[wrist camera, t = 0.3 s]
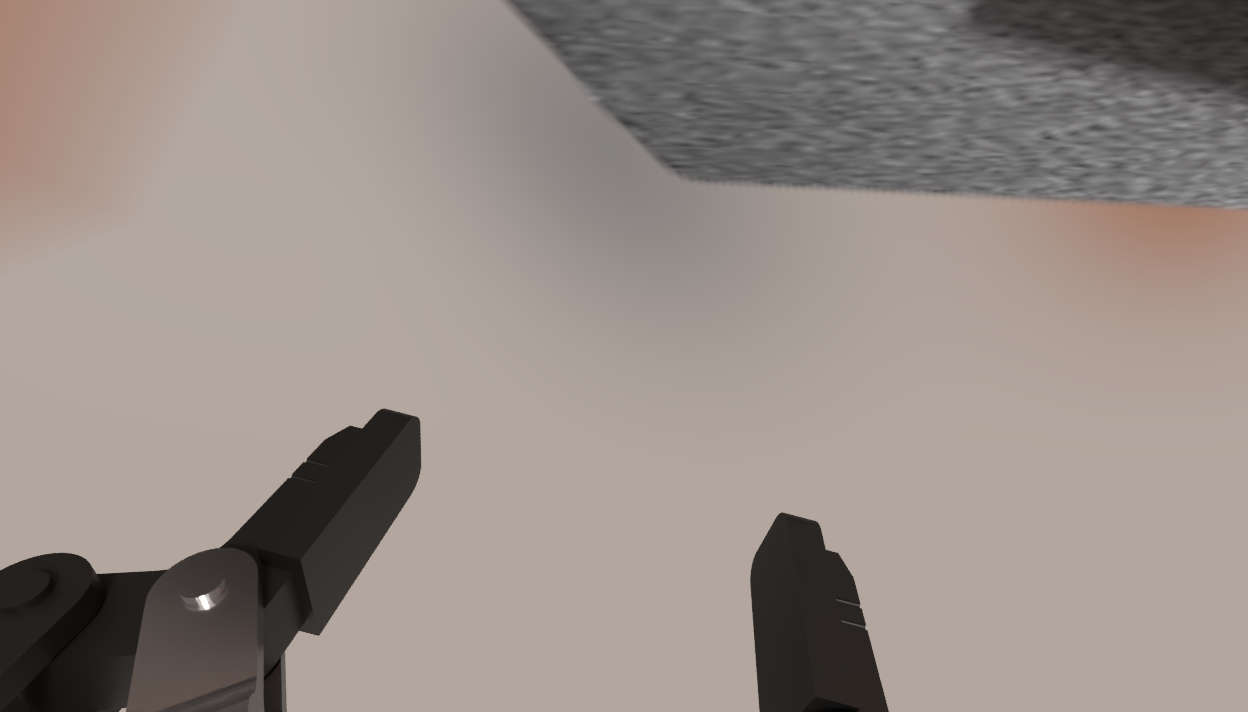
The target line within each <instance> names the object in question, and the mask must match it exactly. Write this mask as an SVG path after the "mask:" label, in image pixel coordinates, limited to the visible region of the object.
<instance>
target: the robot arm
mask: <svg viewBox="0 0 1248 712" xmlns="http://www.w3.org/2000/svg"><path fill="white" fill-rule="evenodd" d="M420 439H421V438H420V420H419V418H418V417H415V416H411V415H407V414H403V413H400V412H395V411H392V410H388V409H381V410H379V411H378V412H377V413H376V414H375V415H374V416H373V417H372V419H370V421H369V422H368V423H367V424H366V425H365V426H364V427H363V428H362V429H361V428H357V427H353V426H349V427H347V428H345V429H343V430H342V431H340V432H338V433H336V434H334V435H333V436H331V437H329V438H327V439H326V440H324V441H323V442H322V443H321V444H320V445H319V447H318V448H317V449H316V450H315V451H314V452H313V453H312V454H311V455H310V456H309V457H308V458H307V461H306V462H303V463H302V464H301V465H300V467H299V468H298V469H297V470H296V471H295V472H294V473H293V474H292V477H291V478H288V479H287V480H286V481H285V482H284V483H283V485H281V486H280V488H278V489H277V491H276V492H275V493H274V494H273V495H272V496H271V497H270V498H269V499H268V500H267V501H266V502H265V503H264V504H263V505H262V507H260V509H258V510H257V512H256V513H255V514H254V515H253V516H252V517H251V518H250V519H249V520H248V521H247V522H246V523H245V524H244V525H243V526H242V527H241V528H240V530H238V532H236V534H235V535H234V536H233V537H232V538H231V539H230V540H229V541H228V542H226V543H225V544H224V545H223V546H221V547H220V548H216V549H210V550H206V551H203V552H199V553H197V554H194V555H192V556H189V557H187V558H185V559H184V560H182V561H180V562H178V563H177V564H175V565H174V566H172V567H171V568H170V569H168V570H160V571H146V572H127V573H109V574H96V573H95V571H94V569H93V568H92V566H91V565H90V563H89V562H88V561H87V560H86V559H85V558H83V557H81V556H78V555H75V554H70V553H52V554H45V555H40V556H36V557H33V558H29V559H26V560H23V561H20V562H18V563H15V564H13V565H10V566H8V567H6V568H4V569H2V570H0V712H119V711H120V710H121V708H126V712H287V708H286V674H285V672H286V671H285V650H286V648H287V647H288V646H289V644H290V643H291V641H292V640H293V638H294V637H295V635H296V634H297V632H298V631H303V632H306V633H310V634H314V635H318V636H319V635H320V633H321V632H322V630H323V629H324V627H325V626H326V624H327V623H328V621H329V620H330V618H331V616H332V615H333V614H334V612H335V610H336V609H337V607H338V606H339V604H340V602H341V601H342V600H343V598H344V597H345V595H346V594H347V592H348V590H349V589H350V587H351V586H352V584H353V583H354V581H355V580H356V578H357V577H358V575H359V574H360V572H361V571H362V569H363V568H364V566H365V564H366V563H367V561H368V560H369V558H370V557H371V555H372V554H373V552H374V551H375V549H376V548H377V546H378V545H379V543H380V541H381V540H382V538H383V537H384V535H385V534H386V532H387V531H388V529H389V528H390V526H391V525H392V523H393V522H394V520H395V519H396V517H397V515H398V514H399V512H400V511H401V509H402V508H403V506H404V505H405V503H406V502H407V500H408V499H409V497H410V496H411V494H412V492H413V490H414V488H415V486H416V484H417V481H418V478H419V475H420V470H421V441H420ZM750 579H751V580H750V581H751V598H752V612H753V626H754V639H755V653H756V667H757V681H758V694H759V709H760V712H889V711H888V707H887V703H886V700H885V696H884V692H883V688H882V684H881V681H880V677H879V673H878V669H877V665H876V661H875V658H874V654H873V650H872V646H871V642H870V639H869V635H868V631H867V630H865V625H866V623H865V620H864V616H863V612H862V609H861V608H860V601H859V597H858V593H857V589H856V585H855V582H854V578H853V576H852V575H851V573H850V571H849V570H848V568H847V567H846V565H845V564H844V562H843V560H842V559H841V557H840V556H839V554H838V553H836V552H832V551H828V550H825V546H824V541H823V536H822V532H821V528H820V525H819V524H818V522H816V521H813V520H809V519H805V518H802V517H797V516H794V515H790V514H786V513H780V514H779V515H778V516H777V517H776V519H775V521H774V523H773V524H772V526H771V528H770V530H769V531H768V533H767V535H766V537H765V538H764V540H763V542H762V544H761V545H760V547H759V549H758V551H757V552H756V554H755V557H754V560H753V564H752V569H751V578H750Z"/></svg>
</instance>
